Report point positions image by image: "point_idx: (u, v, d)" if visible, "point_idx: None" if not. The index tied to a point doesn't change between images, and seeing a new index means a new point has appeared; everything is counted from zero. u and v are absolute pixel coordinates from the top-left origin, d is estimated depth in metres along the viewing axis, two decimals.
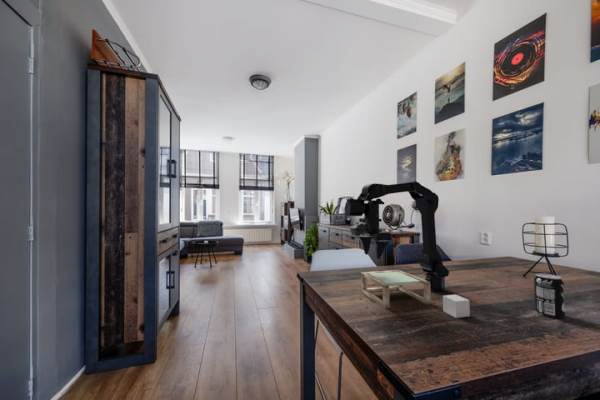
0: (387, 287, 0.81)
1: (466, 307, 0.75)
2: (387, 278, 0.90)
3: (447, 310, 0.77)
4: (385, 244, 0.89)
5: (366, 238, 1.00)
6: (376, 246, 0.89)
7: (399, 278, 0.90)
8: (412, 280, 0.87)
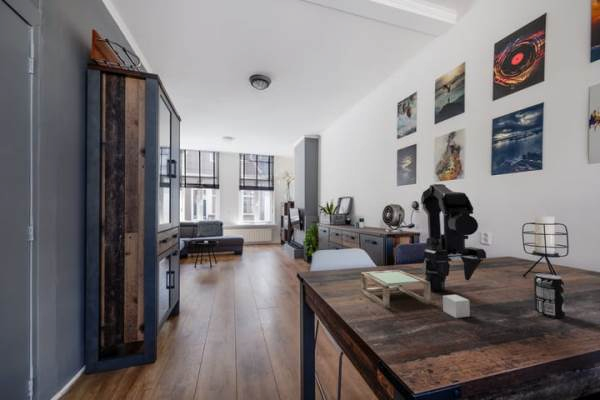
0: (387, 287, 0.81)
1: (466, 307, 0.75)
2: (387, 278, 0.90)
3: (447, 310, 0.77)
4: (442, 266, 0.75)
5: (468, 260, 0.78)
6: None
7: (399, 278, 0.90)
8: (412, 280, 0.87)
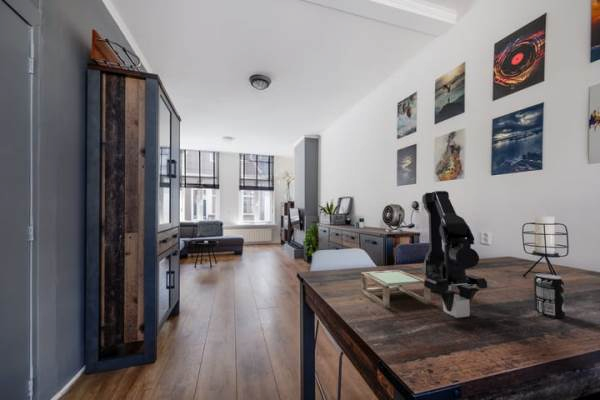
0: (387, 287, 0.81)
1: (466, 307, 0.75)
2: (387, 278, 0.90)
3: None
4: (448, 295, 0.75)
5: (464, 289, 0.78)
6: None
7: (399, 278, 0.90)
8: (412, 280, 0.87)
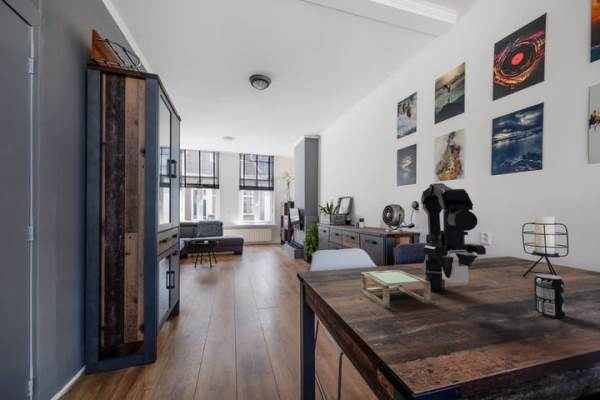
0: (387, 287, 0.81)
1: (465, 273, 0.75)
2: (387, 278, 0.90)
3: (446, 277, 0.78)
4: (447, 261, 0.75)
5: (463, 256, 0.78)
6: None
7: (399, 278, 0.90)
8: (412, 280, 0.87)
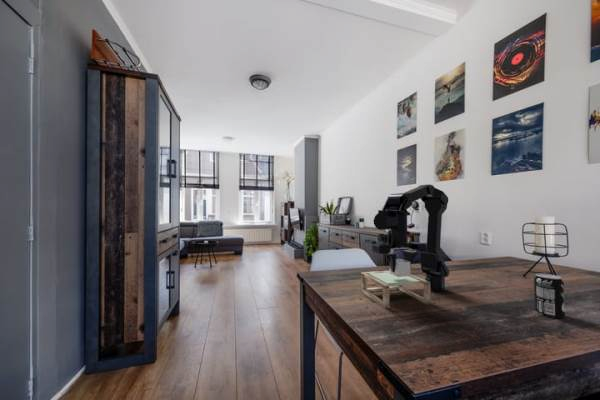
0: (387, 287, 0.81)
1: (407, 268, 0.86)
2: (387, 278, 0.90)
3: None
4: (391, 257, 0.85)
5: (407, 253, 0.88)
6: None
7: (399, 278, 0.90)
8: (412, 280, 0.87)
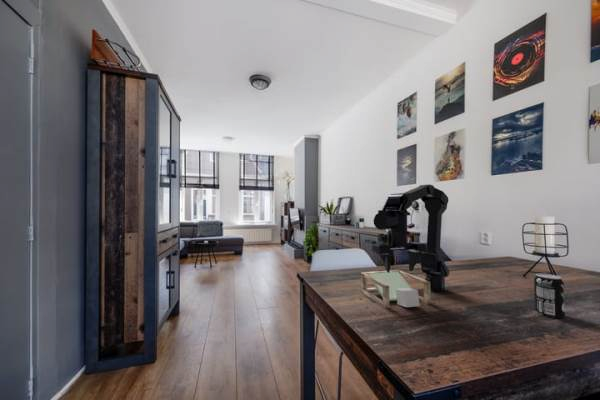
0: (387, 287, 0.81)
1: None
2: None
3: (397, 294, 0.84)
4: (386, 258, 0.85)
5: (412, 253, 0.89)
6: None
7: (398, 288, 0.90)
8: None
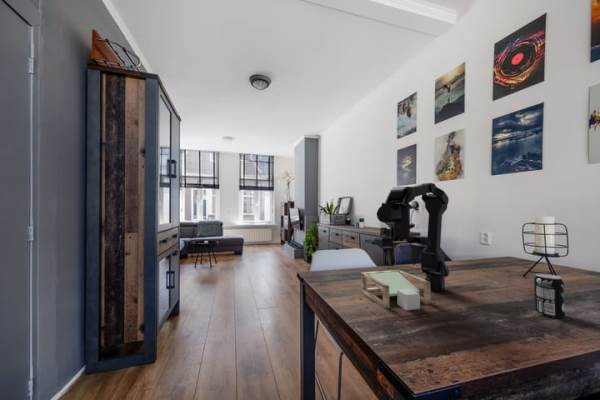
0: (387, 287, 0.81)
1: None
2: (387, 284, 0.90)
3: (398, 296, 0.84)
4: (388, 251, 0.84)
5: (414, 247, 0.88)
6: None
7: (399, 285, 0.90)
8: None
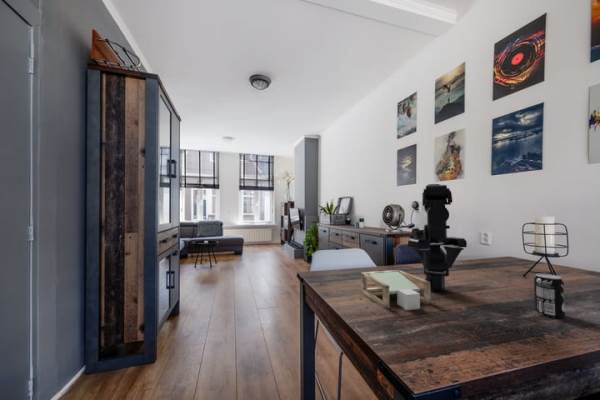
0: (387, 287, 0.81)
1: None
2: (387, 283, 0.90)
3: (399, 295, 0.84)
4: (424, 254, 0.79)
5: (450, 249, 0.83)
6: None
7: (399, 283, 0.90)
8: (412, 287, 0.87)
